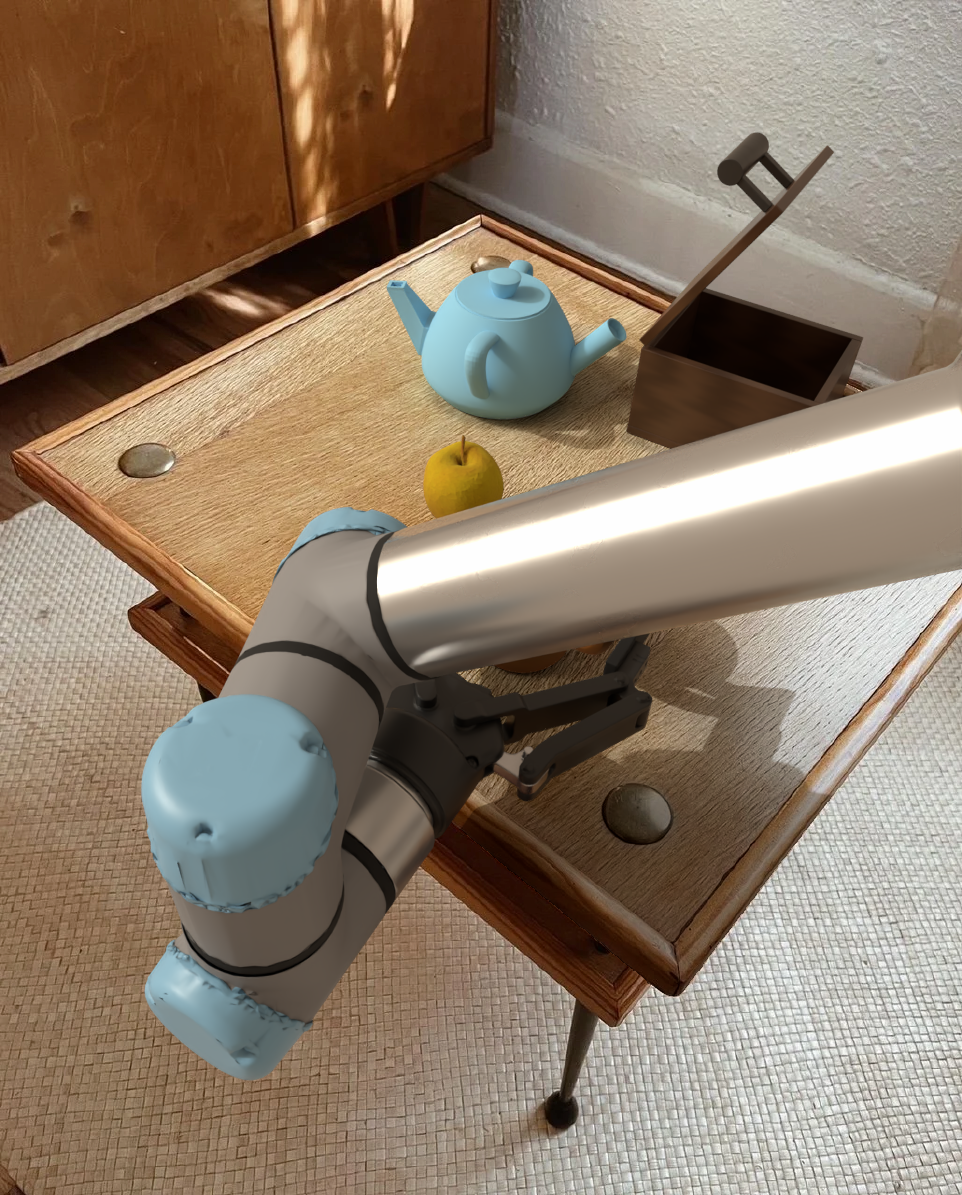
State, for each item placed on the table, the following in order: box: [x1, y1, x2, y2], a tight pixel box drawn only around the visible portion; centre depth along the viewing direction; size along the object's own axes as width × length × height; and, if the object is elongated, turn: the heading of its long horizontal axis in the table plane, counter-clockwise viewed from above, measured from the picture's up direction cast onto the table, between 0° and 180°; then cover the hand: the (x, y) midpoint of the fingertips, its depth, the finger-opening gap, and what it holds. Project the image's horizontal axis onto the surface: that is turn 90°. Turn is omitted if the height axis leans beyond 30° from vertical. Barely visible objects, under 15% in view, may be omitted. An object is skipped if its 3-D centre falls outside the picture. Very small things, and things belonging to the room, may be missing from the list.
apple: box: [422, 434, 505, 519], centre depth 81 cm, size 6×6×8 cm
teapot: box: [386, 259, 628, 420], centre depth 93 cm, size 15×17×11 cm
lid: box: [639, 131, 835, 346], centre depth 83 cm, size 16×13×6 cm
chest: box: [625, 287, 864, 449], centre depth 91 cm, size 16×13×9 cm
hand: (559, 573), depth 70 cm, fingers open, 13 cm apart
